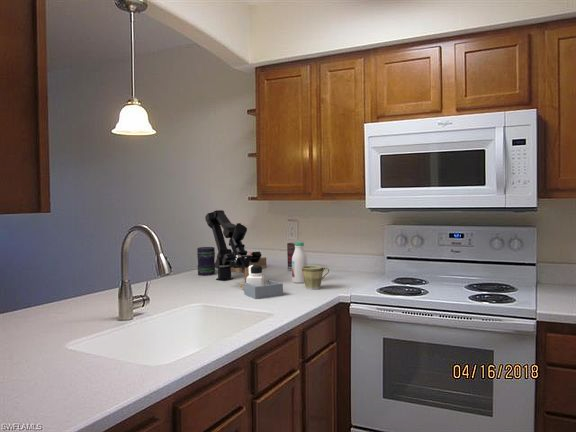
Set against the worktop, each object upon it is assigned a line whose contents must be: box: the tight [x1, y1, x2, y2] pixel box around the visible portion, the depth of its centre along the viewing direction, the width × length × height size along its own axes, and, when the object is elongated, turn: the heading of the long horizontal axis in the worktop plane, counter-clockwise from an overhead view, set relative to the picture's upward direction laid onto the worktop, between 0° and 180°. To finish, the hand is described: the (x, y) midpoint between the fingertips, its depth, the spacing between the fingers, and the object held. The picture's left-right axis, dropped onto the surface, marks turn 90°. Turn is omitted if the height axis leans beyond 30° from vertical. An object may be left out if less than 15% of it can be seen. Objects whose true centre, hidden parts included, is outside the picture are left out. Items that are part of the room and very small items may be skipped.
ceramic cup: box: [302, 265, 330, 291], centre depth 213 cm, size 13×10×10 cm
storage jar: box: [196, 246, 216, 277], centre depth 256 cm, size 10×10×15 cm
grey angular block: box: [243, 279, 284, 300], centre depth 201 cm, size 11×13×5 cm
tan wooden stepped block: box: [240, 268, 249, 290], centre depth 212 cm, size 5×8×9 cm, turn 120°
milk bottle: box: [291, 241, 308, 284], centre depth 229 cm, size 8×8×20 cm
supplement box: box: [286, 242, 295, 271], centre depth 265 cm, size 9×5×16 cm, turn 46°
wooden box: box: [226, 256, 267, 274], centre depth 272 cm, size 14×23×6 cm, turn 145°
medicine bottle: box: [246, 265, 265, 286], centre depth 207 cm, size 7×7×12 cm
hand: (247, 272), depth 214 cm, fingers closed, pressing on tan wooden stepped block
